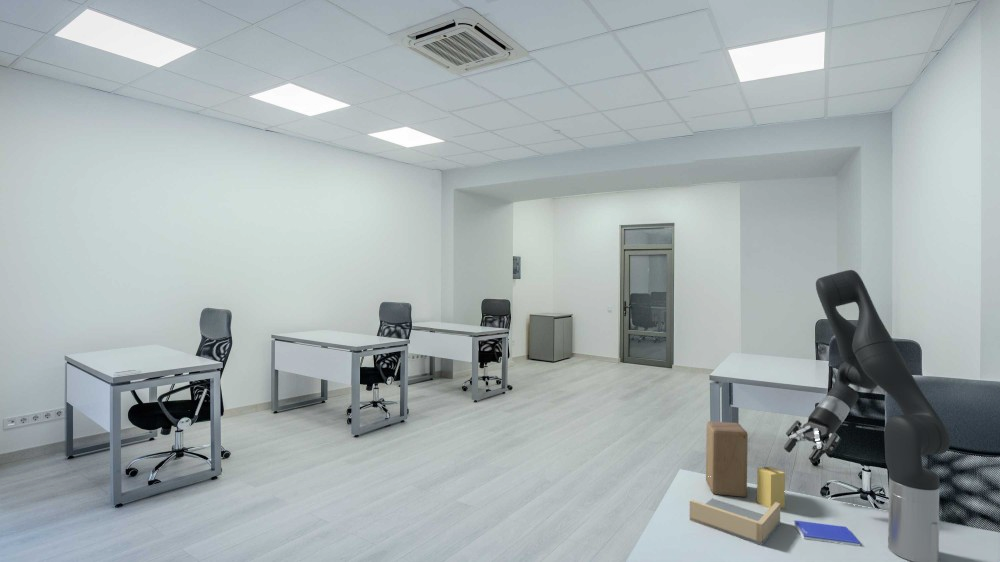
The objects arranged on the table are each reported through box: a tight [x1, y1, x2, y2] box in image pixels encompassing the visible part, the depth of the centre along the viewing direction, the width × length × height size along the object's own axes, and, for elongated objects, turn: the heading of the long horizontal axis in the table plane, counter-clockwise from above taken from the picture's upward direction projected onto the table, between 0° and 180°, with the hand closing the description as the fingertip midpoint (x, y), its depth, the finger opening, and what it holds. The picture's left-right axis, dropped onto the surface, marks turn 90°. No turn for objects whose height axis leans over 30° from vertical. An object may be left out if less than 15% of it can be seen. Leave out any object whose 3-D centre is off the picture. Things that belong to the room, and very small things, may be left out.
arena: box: [689, 498, 781, 546], centre depth 133 cm, size 18×16×5 cm
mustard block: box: [756, 466, 786, 510], centre depth 143 cm, size 5×5×10 cm
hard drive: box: [792, 519, 861, 547], centre depth 126 cm, size 2×8×12 cm
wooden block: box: [705, 420, 749, 498], centre depth 152 cm, size 10×10×20 cm
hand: (798, 455), depth 145 cm, fingers open, 8 cm apart
